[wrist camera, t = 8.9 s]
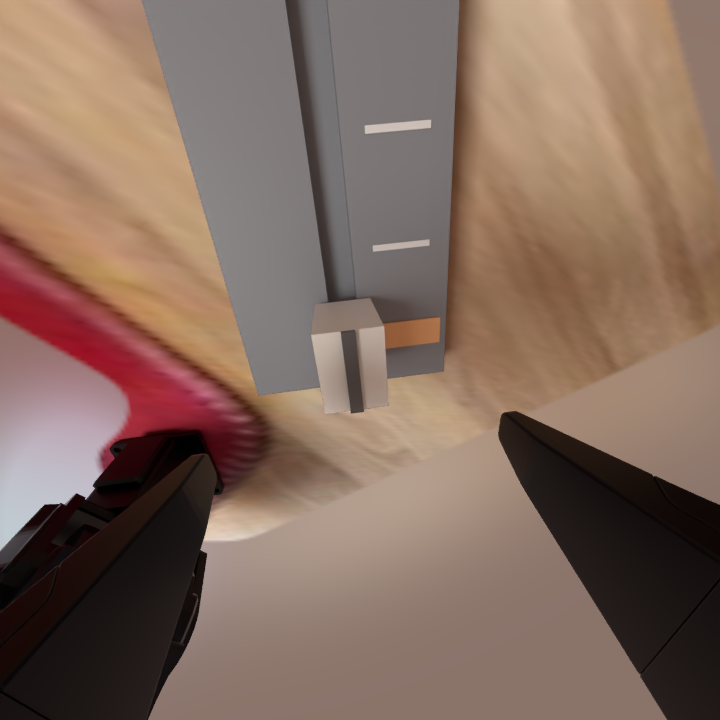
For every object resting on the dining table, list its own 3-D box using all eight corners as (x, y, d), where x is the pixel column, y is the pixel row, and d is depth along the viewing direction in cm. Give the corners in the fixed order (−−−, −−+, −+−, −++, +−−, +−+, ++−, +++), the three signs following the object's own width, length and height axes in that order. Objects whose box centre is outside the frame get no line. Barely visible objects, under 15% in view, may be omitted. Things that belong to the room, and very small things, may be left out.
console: (431, 354, 22) (444, 372, 19) (265, 375, 21) (258, 396, 19) (440, -70, 13) (466, -134, 10) (149, -53, 12) (106, -117, 10)
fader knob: (372, 354, 19) (389, 408, 14) (325, 360, 19) (325, 416, 14) (367, 292, 17) (384, 327, 12) (315, 298, 17) (310, 336, 12)
